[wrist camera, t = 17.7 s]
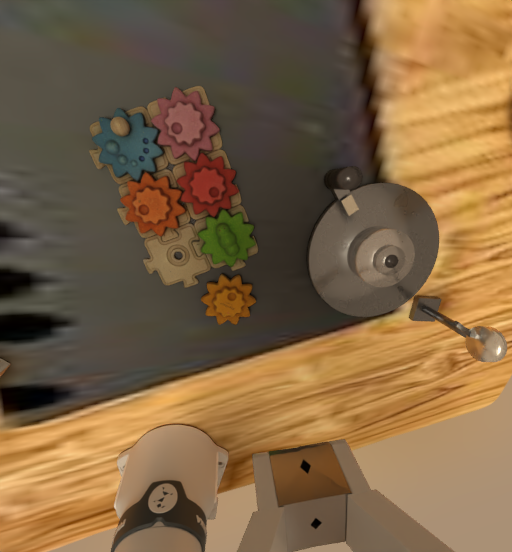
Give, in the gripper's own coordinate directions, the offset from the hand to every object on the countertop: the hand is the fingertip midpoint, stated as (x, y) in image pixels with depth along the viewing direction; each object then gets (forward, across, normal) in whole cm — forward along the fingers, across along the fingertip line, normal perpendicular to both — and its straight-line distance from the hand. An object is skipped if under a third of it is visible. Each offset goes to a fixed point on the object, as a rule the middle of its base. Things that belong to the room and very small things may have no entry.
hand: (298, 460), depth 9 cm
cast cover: (+31, -20, +2) cm, 37 cm away
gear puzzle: (+33, +6, -4) cm, 34 cm away
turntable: (+32, -19, +1) cm, 37 cm away
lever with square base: (+33, -30, +12) cm, 46 cm away
